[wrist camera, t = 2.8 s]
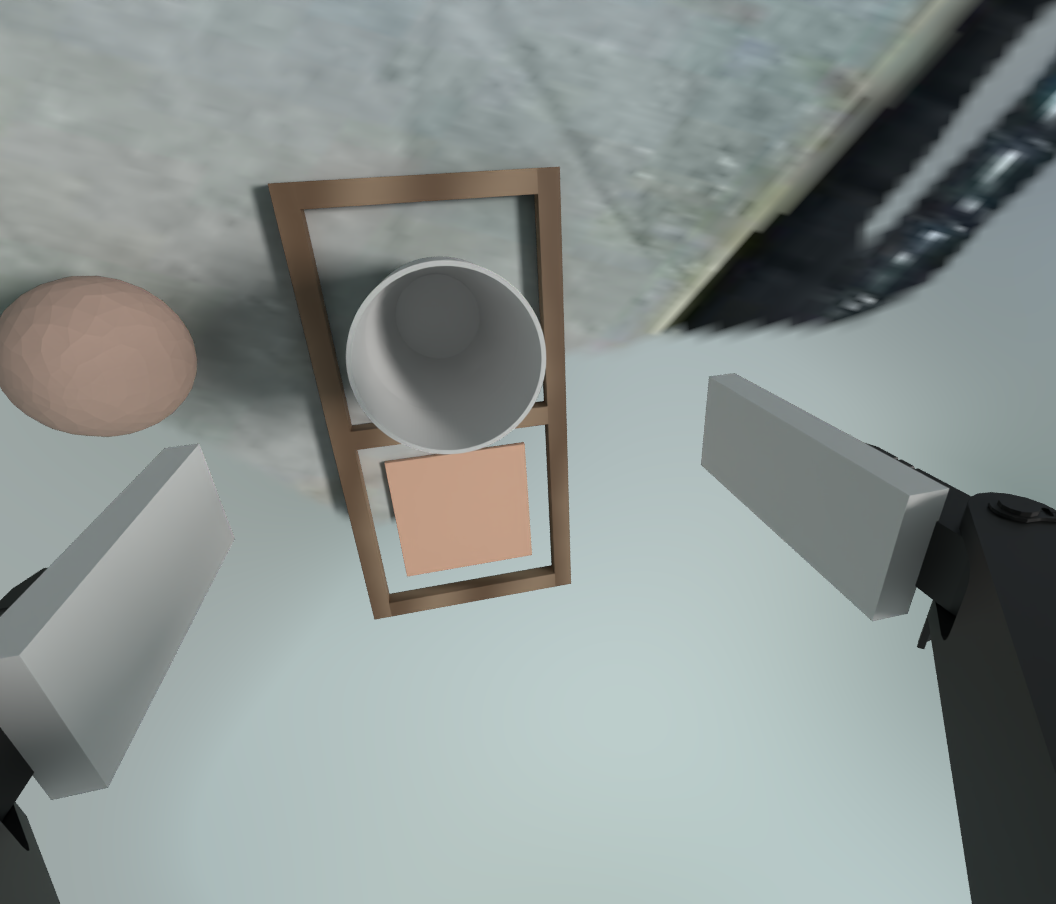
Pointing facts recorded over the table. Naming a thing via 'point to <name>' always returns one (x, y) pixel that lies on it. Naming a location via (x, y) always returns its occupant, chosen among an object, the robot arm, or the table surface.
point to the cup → (445, 356)
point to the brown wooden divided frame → (354, 437)
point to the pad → (461, 507)
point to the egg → (95, 356)
